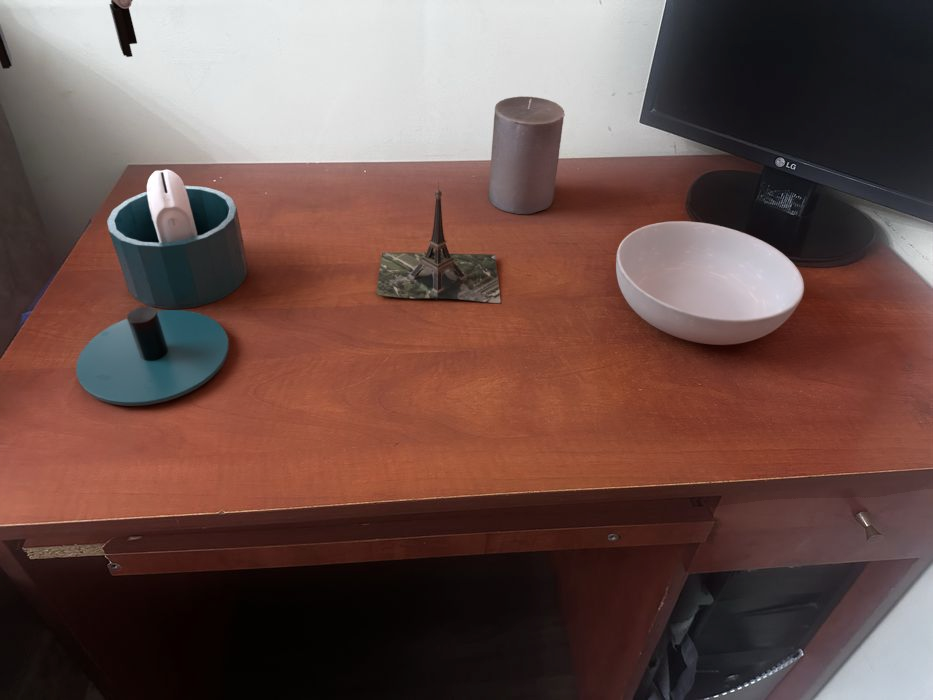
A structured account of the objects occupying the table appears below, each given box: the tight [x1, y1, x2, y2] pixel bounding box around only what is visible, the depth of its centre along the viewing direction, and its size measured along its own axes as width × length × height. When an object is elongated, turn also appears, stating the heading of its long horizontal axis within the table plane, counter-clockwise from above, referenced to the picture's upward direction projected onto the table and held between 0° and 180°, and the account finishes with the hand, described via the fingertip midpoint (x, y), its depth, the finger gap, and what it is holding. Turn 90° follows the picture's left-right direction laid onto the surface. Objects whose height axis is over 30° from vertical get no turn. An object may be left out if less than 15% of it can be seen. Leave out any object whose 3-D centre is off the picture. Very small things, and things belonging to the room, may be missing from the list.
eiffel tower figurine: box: [375, 182, 502, 304], centre depth 84 cm, size 15×10×13 cm
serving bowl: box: [615, 220, 805, 346], centre depth 83 cm, size 21×21×7 cm
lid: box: [75, 305, 230, 407], centre depth 73 cm, size 15×15×6 cm
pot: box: [106, 185, 248, 310], centre depth 85 cm, size 14×14×8 cm
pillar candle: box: [488, 95, 566, 215], centre depth 101 cm, size 10×10×15 cm
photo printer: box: [146, 168, 198, 243], centre depth 83 cm, size 10×4×12 cm, turn 23°
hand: (68, 58), depth 63 cm, fingers open, 9 cm apart
